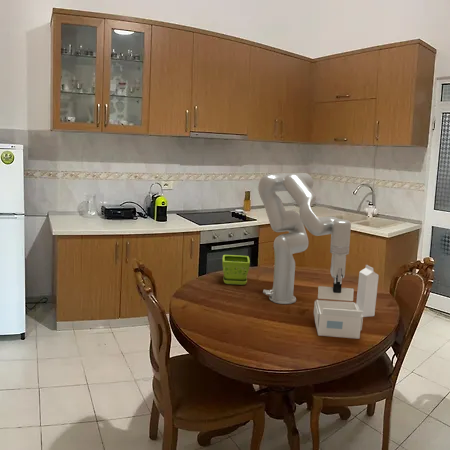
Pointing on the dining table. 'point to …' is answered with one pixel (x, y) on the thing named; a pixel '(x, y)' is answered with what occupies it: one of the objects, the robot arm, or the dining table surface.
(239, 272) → the flower pot
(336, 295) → the flap far
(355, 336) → the carton
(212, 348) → the dining table surface
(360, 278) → the milk
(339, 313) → the flap near
